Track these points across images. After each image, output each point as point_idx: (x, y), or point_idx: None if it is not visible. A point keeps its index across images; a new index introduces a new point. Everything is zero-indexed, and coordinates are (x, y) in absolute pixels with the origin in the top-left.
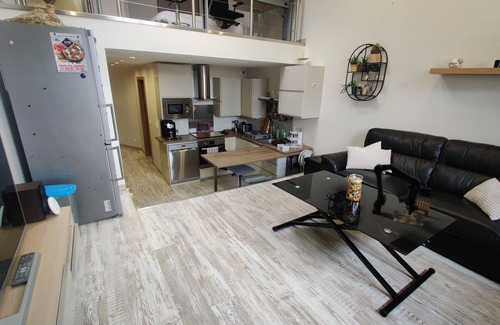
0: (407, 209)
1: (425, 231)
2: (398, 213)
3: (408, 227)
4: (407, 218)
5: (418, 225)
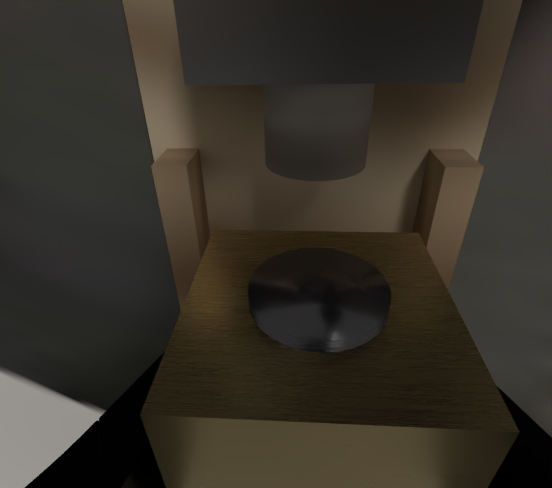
0: (193, 451)
1: (66, 361)
2: (217, 34)
3: (27, 190)
4: None
5: None
